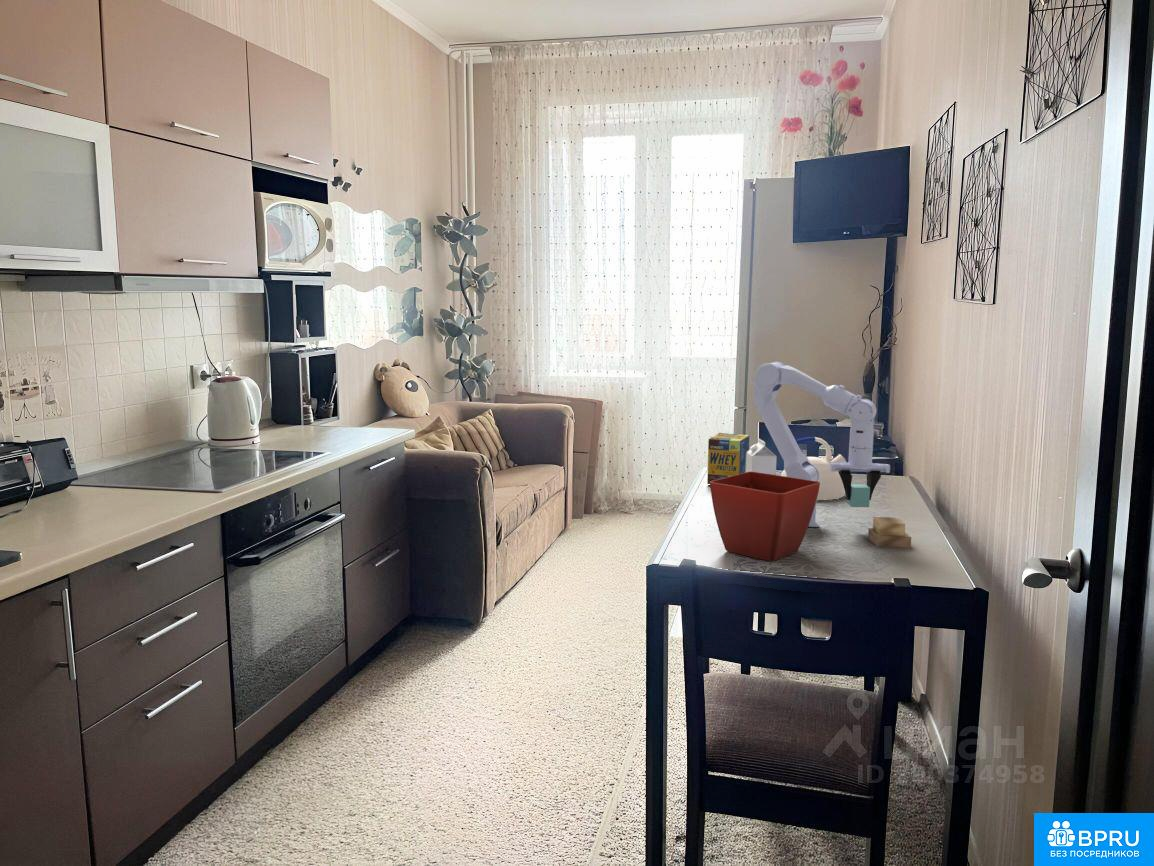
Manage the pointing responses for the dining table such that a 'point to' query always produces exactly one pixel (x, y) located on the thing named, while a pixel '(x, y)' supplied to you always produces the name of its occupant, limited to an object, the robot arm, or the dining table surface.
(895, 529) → the oak slab
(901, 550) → the dining table surface
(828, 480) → the kettle
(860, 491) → the teal block
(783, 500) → the plant pot
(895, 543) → the brown square slab
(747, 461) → the milk carton
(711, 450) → the protein box
